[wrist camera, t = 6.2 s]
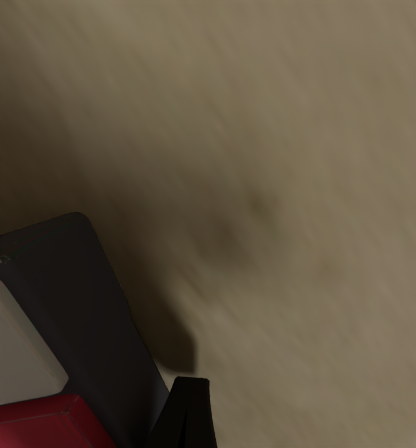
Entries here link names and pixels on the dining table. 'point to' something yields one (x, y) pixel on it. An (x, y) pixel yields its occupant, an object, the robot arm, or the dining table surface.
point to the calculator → (70, 345)
